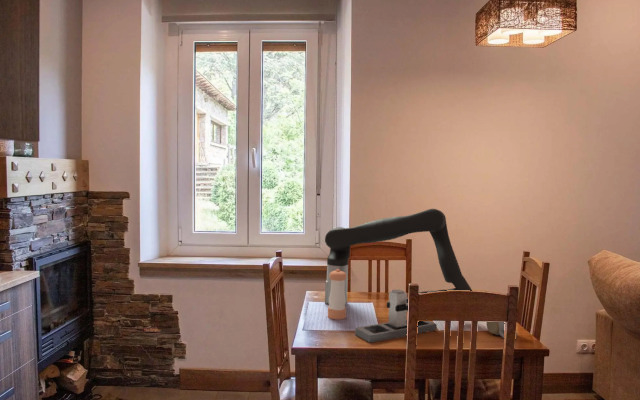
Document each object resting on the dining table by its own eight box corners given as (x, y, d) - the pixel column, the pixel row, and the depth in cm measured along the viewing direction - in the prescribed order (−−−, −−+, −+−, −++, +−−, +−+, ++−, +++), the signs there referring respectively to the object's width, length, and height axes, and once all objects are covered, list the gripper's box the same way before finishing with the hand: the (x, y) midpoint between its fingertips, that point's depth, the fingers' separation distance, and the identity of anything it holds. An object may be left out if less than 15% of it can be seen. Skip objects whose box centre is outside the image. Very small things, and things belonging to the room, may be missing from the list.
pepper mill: (324, 317, 189) (325, 269, 188) (332, 313, 196) (333, 266, 195) (341, 320, 186) (342, 271, 185) (348, 315, 192) (350, 268, 191)
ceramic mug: (484, 331, 177) (485, 311, 177) (502, 329, 180) (504, 309, 179) (503, 341, 167) (504, 320, 167) (522, 340, 170) (524, 318, 169)
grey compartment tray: (369, 342, 162) (370, 335, 162) (355, 334, 170) (355, 327, 170) (436, 330, 177) (436, 323, 177) (420, 323, 185) (420, 317, 185)
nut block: (396, 327, 170) (397, 292, 170) (388, 324, 174) (389, 289, 174) (406, 325, 173) (407, 291, 172) (398, 322, 177) (399, 288, 176)
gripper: (415, 287, 186) (379, 291, 178) (441, 295, 174) (404, 301, 165) (415, 306, 186) (379, 311, 178) (441, 316, 174) (404, 322, 166)
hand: (391, 306), depth 172 cm, fingers closed on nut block, 4 cm apart
